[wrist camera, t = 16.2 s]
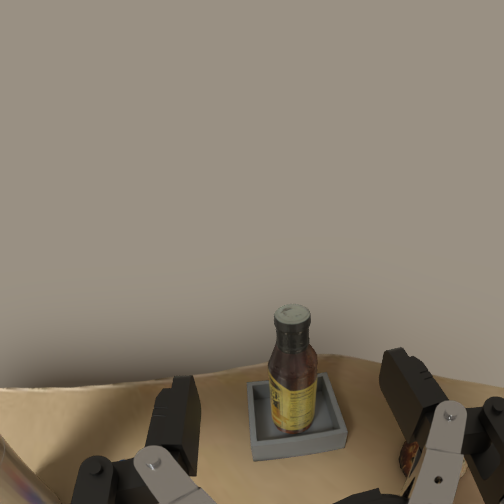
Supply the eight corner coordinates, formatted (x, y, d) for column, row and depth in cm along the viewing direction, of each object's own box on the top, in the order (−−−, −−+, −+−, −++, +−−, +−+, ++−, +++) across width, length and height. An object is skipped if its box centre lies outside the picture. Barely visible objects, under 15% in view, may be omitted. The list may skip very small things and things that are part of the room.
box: (253, 461, 37) (250, 446, 35) (249, 399, 49) (246, 382, 47) (344, 447, 37) (347, 432, 36) (325, 389, 49) (326, 372, 47)
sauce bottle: (272, 406, 46) (265, 297, 39) (313, 405, 45) (317, 294, 38) (270, 438, 40) (261, 327, 33) (315, 437, 39) (322, 325, 32)
